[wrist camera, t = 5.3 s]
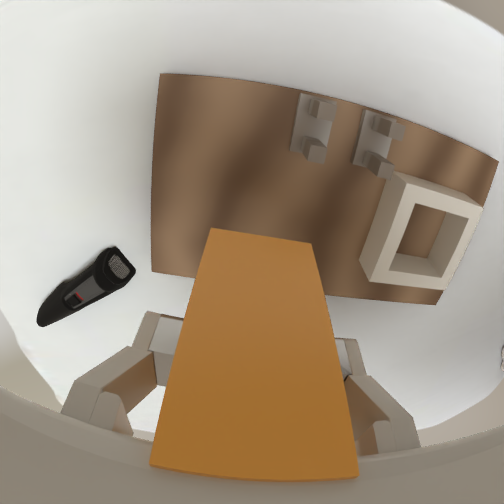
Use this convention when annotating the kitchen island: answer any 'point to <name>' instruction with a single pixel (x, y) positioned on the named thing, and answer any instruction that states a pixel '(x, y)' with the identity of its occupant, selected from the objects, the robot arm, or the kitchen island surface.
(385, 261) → the end holder
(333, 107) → the board
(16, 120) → the kitchen island surface
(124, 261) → the electric trimmer
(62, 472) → the robot arm
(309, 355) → the connector plug
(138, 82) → the kitchen island surface
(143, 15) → the kitchen island surface
